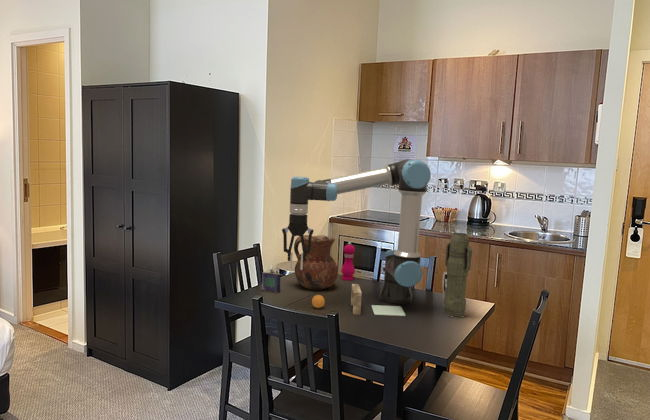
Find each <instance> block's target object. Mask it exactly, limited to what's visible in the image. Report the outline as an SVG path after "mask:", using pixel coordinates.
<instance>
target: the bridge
mask: <svg viewBox="0 0 650 420" xmlns="http://www.w3.org/2000/svg"><path fill="white" fill-rule="evenodd" d="M350 292H351V293H350V306H352V315H356V316H357V315H359V316H360V315H361V311H362V309H361V307H362V294H363V293H362V290H361V287H360V284H359V283H352V284H351V291H350Z"/></svg>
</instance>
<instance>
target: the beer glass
mask: <svg viewBox="0 0 650 420" xmlns="http://www.w3.org/2000/svg"><path fill="white" fill-rule="evenodd" d="M446 272H447V271H444V272H443V275H442V284H441V285H442V295H443V298H442V303H441V306H442V305H444V298H445V296H446V287H447V273H446Z"/></svg>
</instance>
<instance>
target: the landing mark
mask: <svg viewBox="0 0 650 420" xmlns="http://www.w3.org/2000/svg"><path fill="white" fill-rule="evenodd" d="M371 308H372V311H373V314H374V316H393V317H394V316H395V317H397V316H399V317H406V313H405V312H404V309H403V308H402V306H400V305H398V306H397V305H376V304H375V305H374V304H371Z"/></svg>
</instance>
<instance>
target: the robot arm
mask: <svg viewBox="0 0 650 420" xmlns="http://www.w3.org/2000/svg"><path fill="white" fill-rule="evenodd" d="M431 173H432V172H431V170H430V168H429V166H428V164H427V163H425V162H424V161H422V160H420V159H408V158H407V159H403V160H400V161H396V162H394V163H390V164H389V163H388V164H386V165H385V166H384V167H382V168H376V169H372V170H367V171H361V172H357V173H352V174H346V175H340V176H337V177H336V176H335V177H332V178H327V179H322V180H321V179H318V180H315V181H310V178H309V177H307V176H306V177H305V176H293V177H292V178H291V181H290V193H289V194H290V197H289V198H290V199H289V213H290V214H289V216H288V217H289V218H288V219H289V220H288V226H287V227H282V229H281V231H282V232H281V233H282V234H283V235H282V236H283V252H284V253H287V261H288V262H289V270H292V269H293V254H294V253H293V252H292V249H293V246H294V242H295V240H294V239H295V237H299V236H300V237H301V243H300V244H301V250H302V253H300V254H301V270H302V268H303V262H305V260H306V254H307V253H310V248H311V238H312V236H313V234H314V231H315V230H314V229H313V228H309V225H308V212H309V201H320V202H321V201H324V202H331V201H332V202H333V201H336V200H337V199H338V195H340V194H346V193H351V192H355V191H356V192H357V191H361V190H365V189H370V188H375V187H380V186H381V187H382V186H386V185H387V186H389V187H392V186H398V192H399V193H400V194H401V198H400V199H401V200H400V201H401V202H400V211H399V212H400V214H399V223H398V225H399V228H398V236H397V237H398V240H397V249H389V250H386V252H385V255H384V274H383V275H384V276H383V282H382V283H383V284H382V286H381V289H380V291H379V296H378V299H379V300H381V302H385V303H388V304H390V303H391V304H397V305H400V304H401V305H403V304H405V305H406V304H411V303H412V302H413V294H412V290H411V289H412V288H411V287H414V286H416V285H417V284H419V283H420V282H421V280H422V278H423V274H424V272H423V269H422V266H421V258H422V254H421V253H420V252H419V251H418V250H419V237H420V228H421V227H420V225H421V212H422V201H423V195H425V194H426V193H427V186H428V184H429V182H430V180H431V175H432V174H431ZM288 231H289V232H290V233H291V239H290V242H289V247H287V246H288V235H287V233H288ZM305 233H307V235H309V239H308V249H307V250H306V249H305V242H304V235H306V234H305Z"/></svg>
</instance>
